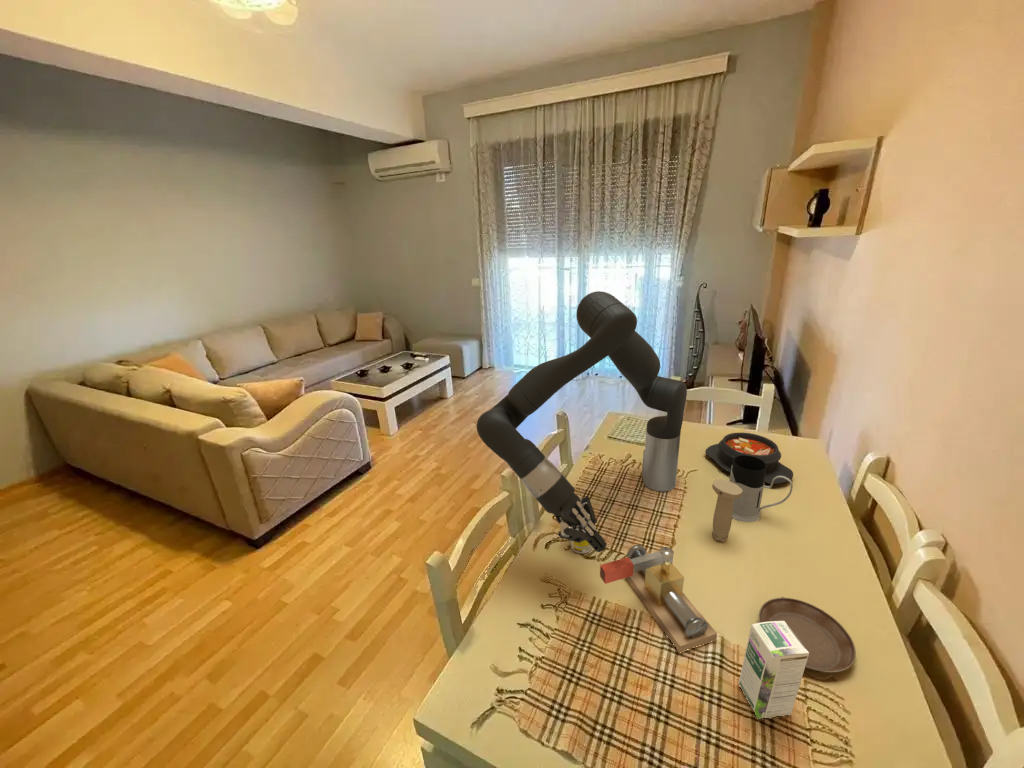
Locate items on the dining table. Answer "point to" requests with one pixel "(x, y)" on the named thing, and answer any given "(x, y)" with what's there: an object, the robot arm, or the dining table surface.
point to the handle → (724, 507)
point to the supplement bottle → (581, 546)
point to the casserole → (750, 454)
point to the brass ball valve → (670, 593)
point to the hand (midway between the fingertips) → (603, 548)
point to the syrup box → (772, 668)
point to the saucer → (813, 633)
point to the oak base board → (670, 616)
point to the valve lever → (634, 565)
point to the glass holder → (750, 487)
